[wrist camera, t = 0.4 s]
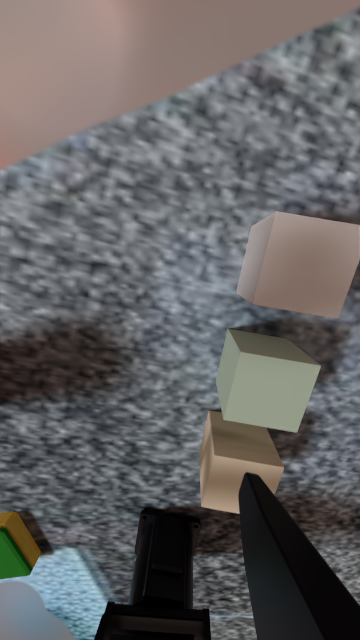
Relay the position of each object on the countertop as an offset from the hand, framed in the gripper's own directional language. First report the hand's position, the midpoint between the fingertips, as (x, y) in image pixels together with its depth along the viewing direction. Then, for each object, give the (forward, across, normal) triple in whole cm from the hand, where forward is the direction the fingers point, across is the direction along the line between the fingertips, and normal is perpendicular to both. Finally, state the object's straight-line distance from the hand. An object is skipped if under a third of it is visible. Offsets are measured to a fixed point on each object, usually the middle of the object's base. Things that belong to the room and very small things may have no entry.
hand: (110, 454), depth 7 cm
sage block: (+12, -8, 0) cm, 14 cm away
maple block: (+12, -8, +8) cm, 17 cm away
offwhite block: (+12, -8, -8) cm, 16 cm away
